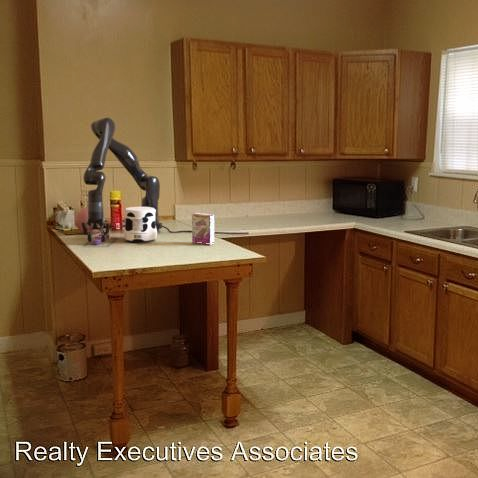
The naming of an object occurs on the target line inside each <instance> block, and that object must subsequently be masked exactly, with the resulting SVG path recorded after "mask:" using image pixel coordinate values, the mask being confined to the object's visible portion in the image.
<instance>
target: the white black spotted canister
mask: <svg viewBox="0 0 478 478" xmlns="http://www.w3.org/2000/svg"><path fill="white" fill-rule="evenodd" d="M124 220H125V221H124V222H125V223H124V228H123V238H124V239H125V241H127V242H129V243H135V244H138V243H139V244H141V243H142V244H145V243H150V242H154V241H155V240H156V239H157V236H158V233H157V229H156V225H155V209H154V208H152V207H142V206H130V207H125V210H124Z"/></svg>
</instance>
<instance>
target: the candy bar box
mask: <svg viewBox="0 0 478 478" xmlns="http://www.w3.org/2000/svg"><path fill="white" fill-rule="evenodd" d="M191 222H192V223H191V227H192V228H191V229H192V230H191V231H192V232H191V233H192V235H191V236H192V237H191V239H192V240H191V241H192V243H191V244H194V245H201V244H202V246H212V244H213V245H215V233H214V232H215V214H212V213H202V212H195V213H192V214H191ZM197 242H202V243H197ZM212 242H214V243H212ZM206 243H211V244H206Z"/></svg>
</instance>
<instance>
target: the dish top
mask: <svg viewBox="0 0 478 478" xmlns="http://www.w3.org/2000/svg"><path fill="white" fill-rule="evenodd" d="M98 236H102V234H101V233H98ZM105 236H106V239H108V238H111V235H110V232H109V233H108V234H106V235H105Z"/></svg>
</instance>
